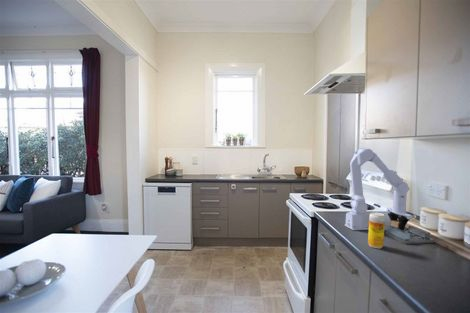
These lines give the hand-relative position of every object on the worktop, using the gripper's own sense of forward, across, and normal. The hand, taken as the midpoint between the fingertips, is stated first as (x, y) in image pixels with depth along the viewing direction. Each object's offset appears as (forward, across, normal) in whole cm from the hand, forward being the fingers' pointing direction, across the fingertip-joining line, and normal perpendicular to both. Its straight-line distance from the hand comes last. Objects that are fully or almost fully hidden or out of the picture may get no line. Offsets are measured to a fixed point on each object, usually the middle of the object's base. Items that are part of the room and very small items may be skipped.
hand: (397, 228), depth 131 cm
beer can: (+2, -16, +27) cm, 31 cm away
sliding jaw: (0, -10, +9) cm, 14 cm away
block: (+1, 0, 0) cm, 1 cm away
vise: (+1, -10, +3) cm, 11 cm away
